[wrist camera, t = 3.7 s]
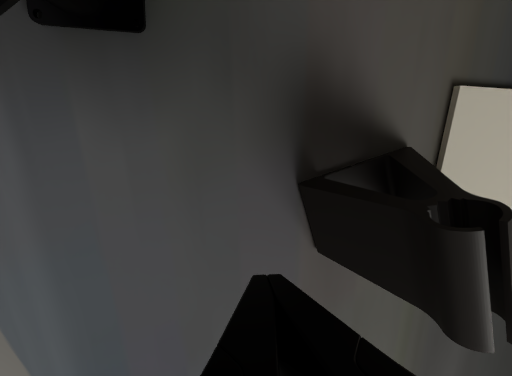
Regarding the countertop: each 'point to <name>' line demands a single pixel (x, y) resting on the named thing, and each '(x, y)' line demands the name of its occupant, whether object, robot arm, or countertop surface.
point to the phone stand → (419, 240)
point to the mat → (479, 142)
